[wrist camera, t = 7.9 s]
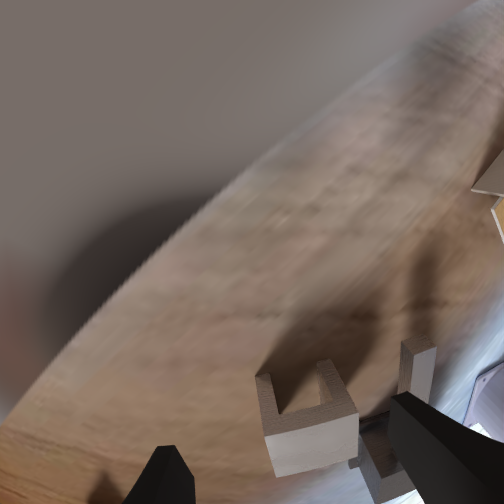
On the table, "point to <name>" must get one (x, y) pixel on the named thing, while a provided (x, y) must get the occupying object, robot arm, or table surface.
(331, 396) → the bracket
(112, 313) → the table surface
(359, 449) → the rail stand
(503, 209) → the architectural model
